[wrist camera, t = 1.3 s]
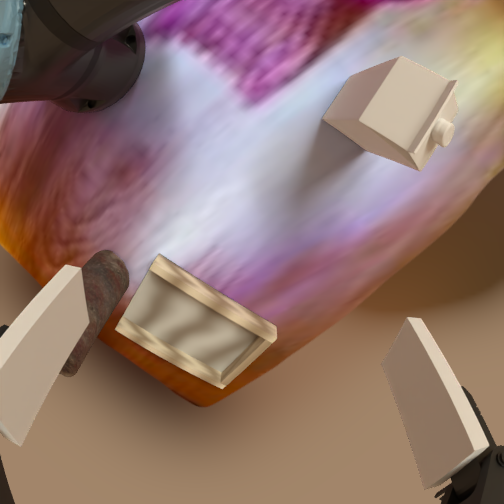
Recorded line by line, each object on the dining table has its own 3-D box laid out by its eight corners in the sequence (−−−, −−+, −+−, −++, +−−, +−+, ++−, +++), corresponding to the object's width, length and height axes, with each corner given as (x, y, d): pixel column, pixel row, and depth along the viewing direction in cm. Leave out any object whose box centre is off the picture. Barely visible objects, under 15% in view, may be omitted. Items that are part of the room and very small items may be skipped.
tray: (121, 318, 48) (114, 329, 45) (159, 253, 43) (152, 262, 40) (223, 376, 53) (222, 389, 50) (276, 326, 47) (277, 338, 45)
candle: (142, 273, 44) (83, 366, 26) (119, 300, 46) (63, 389, 28) (104, 239, 42) (26, 317, 24) (84, 270, 44) (15, 348, 26)
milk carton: (321, 118, 35) (376, 121, 17) (350, 75, 32) (423, 47, 15) (366, 151, 36) (445, 183, 19) (393, 109, 33) (486, 113, 16)
